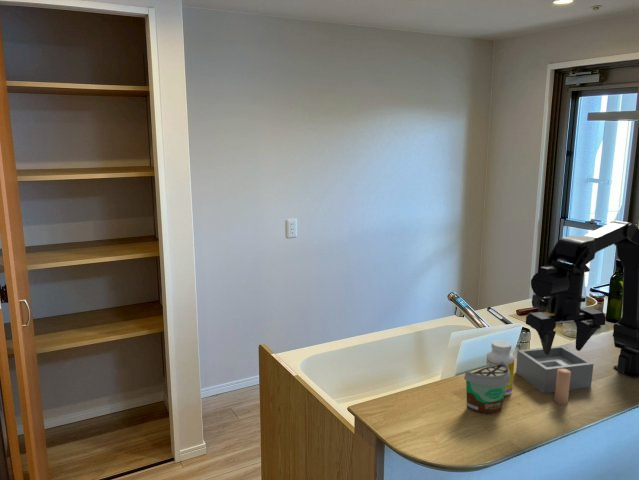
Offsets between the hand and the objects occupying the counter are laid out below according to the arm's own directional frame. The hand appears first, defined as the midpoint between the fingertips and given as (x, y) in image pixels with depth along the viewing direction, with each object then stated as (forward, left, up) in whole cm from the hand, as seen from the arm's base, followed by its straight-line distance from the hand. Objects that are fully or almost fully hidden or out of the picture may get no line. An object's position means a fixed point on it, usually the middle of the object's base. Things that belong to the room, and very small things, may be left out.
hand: (562, 352), depth 126 cm
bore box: (-6, -9, -12) cm, 16 cm away
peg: (0, +1, -12) cm, 12 cm away
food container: (+19, +1, -13) cm, 23 cm away
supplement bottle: (+12, -7, -13) cm, 19 cm away
